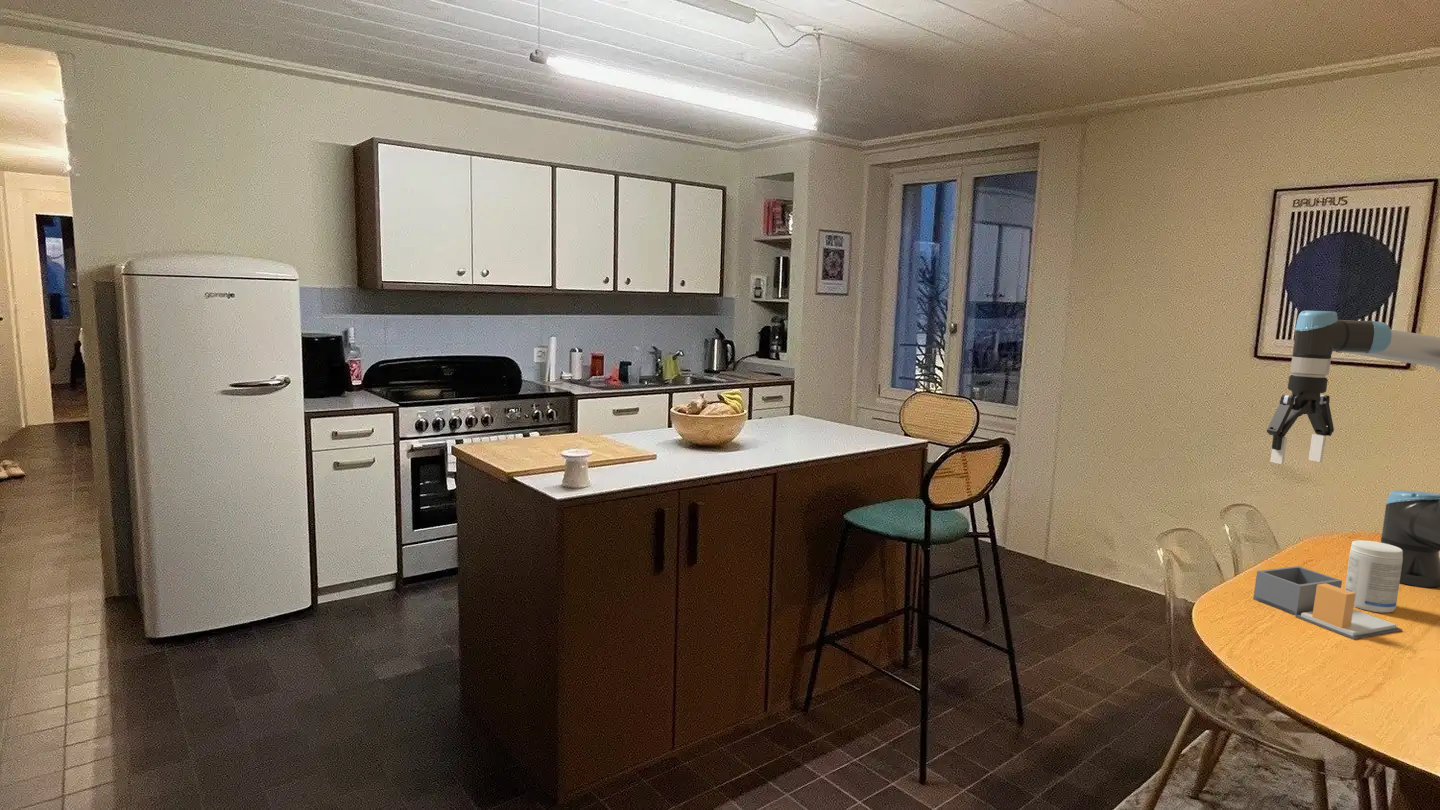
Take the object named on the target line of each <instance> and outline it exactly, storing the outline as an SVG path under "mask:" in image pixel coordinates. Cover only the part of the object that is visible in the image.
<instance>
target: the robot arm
mask: <svg viewBox="0 0 1440 810" xmlns="http://www.w3.org/2000/svg"><path fill="white" fill-rule="evenodd" d="M1294 330H1295V331H1294V340H1293V348H1292V357H1291V363H1290V369H1289V370H1290V371H1289V372H1290V373H1292V374H1290V375H1289V376H1288V383H1287V390H1289V391H1291V395H1287V394H1282V395H1281V396H1280V400H1279V404H1278V405H1277V408H1276V410H1275V412H1274V414H1273V416H1272V419H1271V420H1270V422H1269V425H1268V426H1267V429H1266V433H1268V435H1270V436H1272V443H1271V454H1270V461H1269V462H1270V463H1274V464H1279V465H1284V464H1285V456H1286V450H1287V442H1288V437H1287V436H1286V435H1287V434H1288V432H1289V431H1290V429H1291V428H1292V427H1293V425H1294V424H1295V422H1296V421H1297V420H1298V419H1299V417H1301V416H1303V415H1307V418H1308V420H1309V422H1310V424H1311V426H1312V429H1313V431H1314V433H1312V434H1311V440H1310V445H1309V446H1310V448H1309V454H1308V461H1312V462H1313V461H1314V462H1318V463H1322V462H1323V456H1324V450H1325V445H1326V444H1325V443H1326V440H1327V439H1326V437H1327V436H1328V437H1331V436H1332V435H1333V433H1334V430H1335V427H1334V421H1333V418H1332V417H1333V415H1332V412H1331V408H1330V402H1331V401H1330V400H1331V399H1330V395H1326V394H1325V393H1326V392H1327V386H1328V383H1329V382H1328V380H1329V378H1327V377H1326V376H1328V375H1330V367H1331V361H1332V356H1333V355H1332V354H1333V352H1334V353H1335V352H1338V353H1344V354H1349V355H1350V354H1351V355H1356V356H1363V357H1369V358H1375V359H1381V360H1388V361H1394V362H1401V363H1406V364H1413V365H1417V366H1418V365H1420V366H1425V367H1432V368H1434V369H1435V370H1436V371H1438V372H1440V336H1436V335H1430V334H1429V335H1428V334H1421V333H1416V332H1408V331H1404V330H1403V331H1402V330H1397V329H1391V327H1390V326H1389V325H1388V324H1387V323H1386V322H1382V321H1376V320H1375V321H1374V320H1354V319H1353V320H1349V319H1347V320H1346V319H1339V318H1338V313H1337V312H1336V311H1330V310H1329V311H1328V310H1324V311H1323V310H1302V311H1301V312H1300V313H1299V314H1298V316H1297V320H1296V325H1295V327H1294ZM1324 394H1325V395H1324ZM1387 497H1388V498H1387V499H1386V502H1385V510H1384V518H1383V524H1382V525H1383V526H1382V530H1381V531H1382V532H1381V536H1380V538H1381V539H1380V543H1385V544H1389V545H1393V546H1396V547H1398V548H1400V549H1402V550H1403V555H1402V556H1403V561H1402V569H1401V575H1400V582H1399V584H1402V585H1403V584H1404V585H1409V586H1415V587H1422V588H1423V587H1424V588H1440V493H1436V492H1430V491H1429V492H1428V491H1418V490H1401V489H1400V490H1399V489H1397V490H1392V491H1391V492H1389V494H1388V496H1387Z"/></svg>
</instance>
